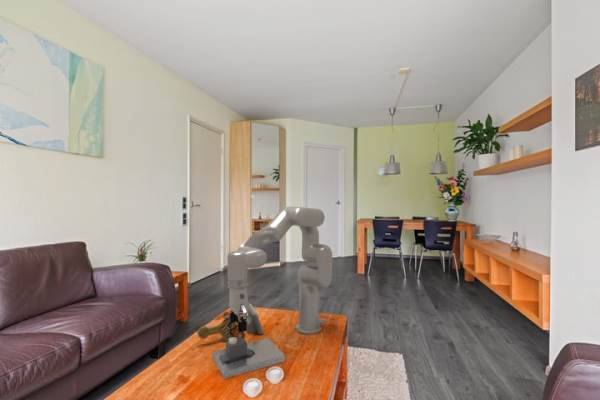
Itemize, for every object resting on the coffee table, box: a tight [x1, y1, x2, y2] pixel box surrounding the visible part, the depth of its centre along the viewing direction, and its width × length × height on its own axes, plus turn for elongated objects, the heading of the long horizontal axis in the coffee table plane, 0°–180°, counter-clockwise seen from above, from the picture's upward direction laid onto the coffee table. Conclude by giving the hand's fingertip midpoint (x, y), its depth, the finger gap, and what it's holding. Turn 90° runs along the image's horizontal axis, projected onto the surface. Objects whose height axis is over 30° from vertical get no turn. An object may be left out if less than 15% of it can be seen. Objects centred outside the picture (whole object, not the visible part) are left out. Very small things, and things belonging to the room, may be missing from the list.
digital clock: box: [246, 303, 264, 335], centre depth 145 cm, size 16×9×11 cm, turn 10°
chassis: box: [212, 338, 286, 380], centre depth 117 cm, size 24×16×2 cm, turn 120°
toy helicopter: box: [197, 310, 246, 343], centre depth 131 cm, size 8×21×14 cm, turn 122°
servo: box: [219, 337, 253, 364], centre depth 114 cm, size 12×4×10 cm, turn 120°
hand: (238, 326), depth 115 cm, fingers open, 9 cm apart
